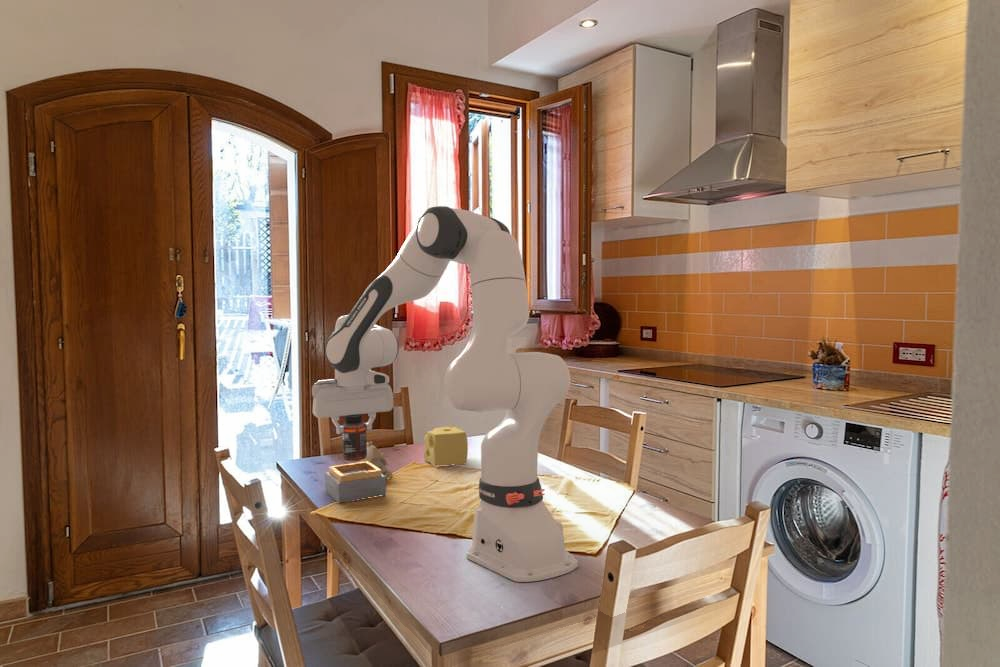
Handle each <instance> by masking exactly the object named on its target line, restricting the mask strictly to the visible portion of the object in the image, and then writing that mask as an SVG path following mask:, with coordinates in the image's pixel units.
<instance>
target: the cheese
mask: <svg viewBox="0 0 1000 667" xmlns="http://www.w3.org/2000/svg"><path fill="white" fill-rule="evenodd" d="M423 441H424V442H423V444H424V450H423V459H424V461H425V460H426V461H428V462H430V463H431V464H433V465H435V466H437V465H452V464H459V465H465V464H464V463H466V464H467V460H468V451H469V450H468V445H469V443H468V437H467V433H466V431H464V430H462V429H460V428H457V427H456V426H441V427H440V426H439V427H435V428H434V429H432V430H428V431H427V432H426V435H424V439H423ZM426 461H425V462H426ZM428 462H427V463H428ZM430 463H429V464H430ZM431 464H430V465H431Z"/></svg>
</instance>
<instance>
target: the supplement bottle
mask: <svg viewBox="0 0 1000 667" xmlns="http://www.w3.org/2000/svg"><path fill="white" fill-rule="evenodd" d="M362 416H363V414H356V415H347V416H345V422H344V424H342V426H343V427H344V430H343V431H344V433H343V434H341V436H342V456H343V460H344V461H347V462H356V461H357V462H358V460H363V459H365V458H366V457H367V431H366V425H365V423H366V422H364V421H362V420H363V418H362Z"/></svg>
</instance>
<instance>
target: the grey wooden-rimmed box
mask: <svg viewBox="0 0 1000 667" xmlns="http://www.w3.org/2000/svg"><path fill="white" fill-rule="evenodd" d="M324 474H325V492H326V493H327V494H328V495H330V497H331V498H332V499H333V500H335V501H336V502H337V503H338V502H339V503H340V504H342V503H341V502H346V501H352V500H357V499H362V498H368V497H374V496H379V495H385V494H386V495H387V486H386V485H387V484H386V482H387V480H386V476H384V475H383V474H382V470H381V469H379V468H378V467H376V466H375V465H373V464H372V463H370V462H369V461H366V462H358V461H357V462H353V463H347V464H345V463H344V464H340V465H339V464H338V465H332V466H331V465H330V466H328V471H325V473H324ZM352 502H353V501H352ZM339 503H338V504H339ZM346 503H347V502H346Z"/></svg>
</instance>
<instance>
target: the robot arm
mask: <svg viewBox="0 0 1000 667" xmlns="http://www.w3.org/2000/svg"><path fill="white" fill-rule="evenodd" d="M403 242H404V243H403V244H402V246H401V248H400V250H399V251H398V253H397V255H396V256H395V258H394V259H393V261H392V262H391V263H390V264H389V265H388V267H387V268H386V269H385V270H384V271H383V272H382V273H381V274H380V275H379V276H377V277H376V278H375V279H374V280H373V281H372V282H370V284H369V285H368V286H367V288H365V290H364V292H363V293H362V295H361V296H360V298H359V299H358V301H357V302H356V303H355V305H354V306H353V308H351V311H350V312H349V313H348V314H345V315H341V316H339V317H338V318H337V320H336V323H335V327H334V331H333V332H332V333H331V335H329V337H328V339H327V341H326V344H325V350H324V352H325V358H326V360H327V362H328V363H329V364H330V365H331V367H333V369H334V378H333V379H332V378H331V379H321V380H318V381H317V382H314V383H313V385H312V386H311V395H312V397H313V400H312V414H313V416H314V417H316V418H317V419H325V418H331V422H332V423H333V424H334V426H335V429H336V430H335V431H336V432H335V433H336V435H337V434H338V435H342V434H343V433H344V431H343V430H344V427H343V425H341V424H340V423H339V421H340V417H346V416H347V415H356V414H361V415H363V414H368V415H367V416H368V417H369V418H368V420H367V422H364V423H365V425H366V432H367V431H372V430H373V424H374V422H375V419H376V417H377V413H385V412H391V411H392V410H393V408H394V395H393V394H394V393H393V390H392V387H391V385H390V384H389V383H390V376H389V375H387V374H386V373H382V372H378V371H376V370H372V369H374V368H380V367H385V366H390V365H392V364H393V363H394V362H395V361H396V359H397V358H398V356H399V350H400V344H399V339H398V337H397V335H396V334H395V333H394V331H393V330H391V329H389V328H385V327H383V326H380V325H378V324H377V322H378V320H380V318H381V317H382V316H383V315H384V314H385V313H387V312H388V311H390V310H391V309H393V308H395V307H398V306H400V305H403V304H406V303H410V302H413V301H417V300H420V299H423V298H425V297H427V296H428V295H429V294H430V293H431V292H432V291H433V290H434V289H435V288H436V286H437V285H438V284H439V282H440V280H441V278H442V276H443V275H444V273H445V271H446V270H447V267H448V265H450V264H449V263H450V262H453V263H454V262H455V263H458V264H461V265H467V267H468V268H469V276H470V277H469V278H470V289H471V291H470V292H471V304H472V306H471V307H472V328H471V333H470V336H469V339H468V342H467V344H466V345H465V347H464V348H463V350H462V351H461V353H460V354H459V355H457V357H456V358H455V359H454V360H452V361H451V363H450V364H449V365H448V367H447V369H446V371H445V374H444V378H443V388H444V393H445V396H446V398H447V400H448V402H449V403H450V404H451V405H452V406H453V407H454V408H455V409H457V410H462V411H468V412H477V413H478V412H479V413H481V412H484V413H485V412H493V411H494V412H495V411H505V410H506V411H505V414H504V417H503V419H502V420H501V421H500V423H499V424H497V426H496V427H494V428H493V429H491V430H489V431H488V432H487V433H486V434H485V435H484V437H483V439H482V441H481V444H480V458H481V459H480V463H481V464H480V469H481V470H480V471H481V476H480V478H479V480H478V481H479V483H478V497H479V499H480V502H479V505H478V507H477V509H476V510H475V512H474V514H473V515H474V516H473V528H472V544H471V547H470V548H469V549H468V550H467V552H466V558H467V560H470V561H472V562H474V563H476V564H478V565H480V566H482V567H483V568H487V569H489V570H490V571H493V572H495V573H496V574H499V575H501V576H503V577H505V578H507V579H510V580H511V581H514V582H515V583H517V582H518V583H523V582H524V583H528V582H538V581H543V580H548V579H552V578H556V577H560V576H563V575H565V574H567V573H570V572H572V571H574V570H575V569H577V568H578V566H579V561H578V560H577V558H576V557H575V556H574V555H572V554H571V553H570V552H569V551H568V550H567V549H566V548H565V547H566V546H565V536H564V532H563V531H564V526H563V524H562V523H561V522H560V521H556V519H555V518H554V517H553V514H552V513H551V512H550V511H549V509H548V507H547V506H546V504H545V503H544V501H543V499H544V496H545V493H543V492H544V491H545V488H542V485H541V482H540V479H539V477H538V459H539V458H538V456H539V455H538V454H539V444H540V443H539V441H540V437H541V433H542V430H543V427H544V426H545V422H546V421H547V419H548V417H549V416H550V415H551V412H552V411H553V410H554V408H556V406H557V405H558V404H560V403H561V401H563V400H564V399H565V398H566V396H567V395H568V393H569V391H570V390H569V389H570V386H571V373H570V372H571V371H570V369H569V367H568V365H567V363H566V361H565V360H564V359H563V358H562V357H561V356H560V355H557V354H552V353H549V352H541V351H529V352H528V351H527V352H508V341H509V339H510V337H513V336H514V335H515V334H517V333H519V332H520V331H521V330H523V328H525V326H526V325H527V323H528V321H529V318H530V308H529V307H530V306H529V300H528V289H527V281H526V274H525V273H526V272H525V268H524V263H523V259H522V255H521V250H520V247H519V245H518V242H517V239H516V238H515V236H514V235H513V234H511V232H510V229H509V228H508V227H507V225H505V224H504V222H501V221H500V220H498V219H495V218H493V217H488V216H485V215H482V214H479V213H475V212H474V211H471V210H466V209H461V208H452V207H449V206H445V205H444V206H441V205H440V206H439V205H437V206H431V207H429V208H427V209H426V210H424V211H423V213H422V214H421V215H420V217H419V219H418V222H417V224H416V225H415V226H414V228H413V229H412V230H411V232H410V233H409V234H408V236H407V238H406V239H405V241H403Z"/></svg>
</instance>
